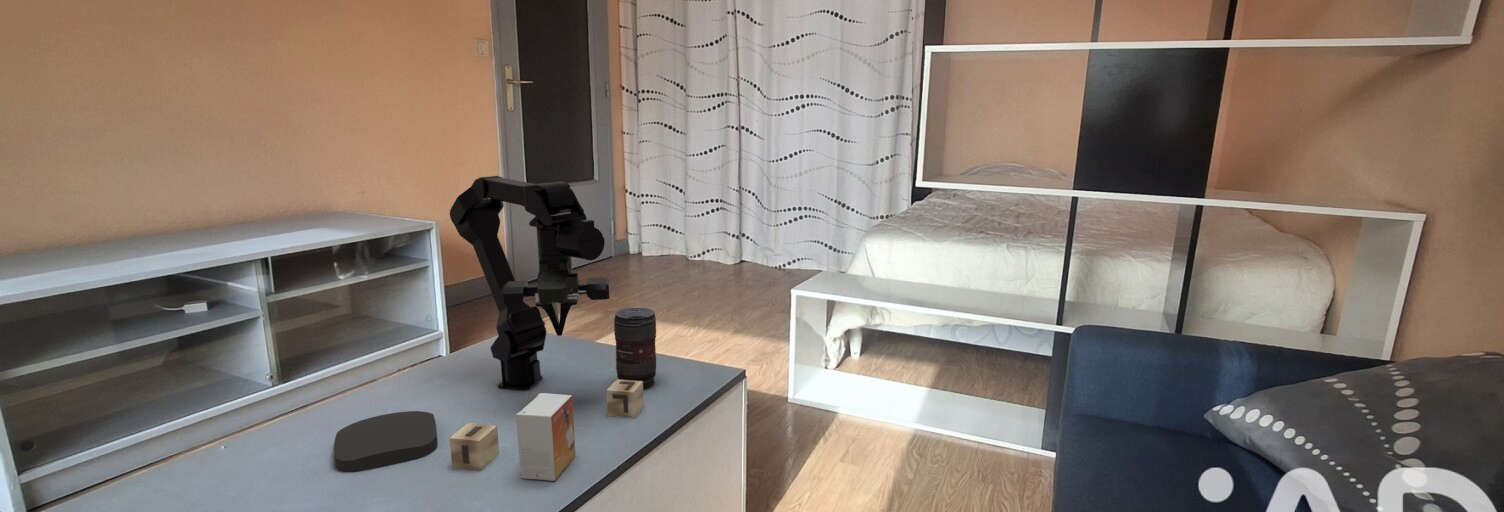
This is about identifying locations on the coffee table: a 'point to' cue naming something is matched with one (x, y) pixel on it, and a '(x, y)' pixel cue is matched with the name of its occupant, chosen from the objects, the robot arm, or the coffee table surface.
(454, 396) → the coffee table surface
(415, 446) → the media streaming box
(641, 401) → the marked block right
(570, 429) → the small box
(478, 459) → the marked block left
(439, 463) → the coffee table surface
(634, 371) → the camera lens
